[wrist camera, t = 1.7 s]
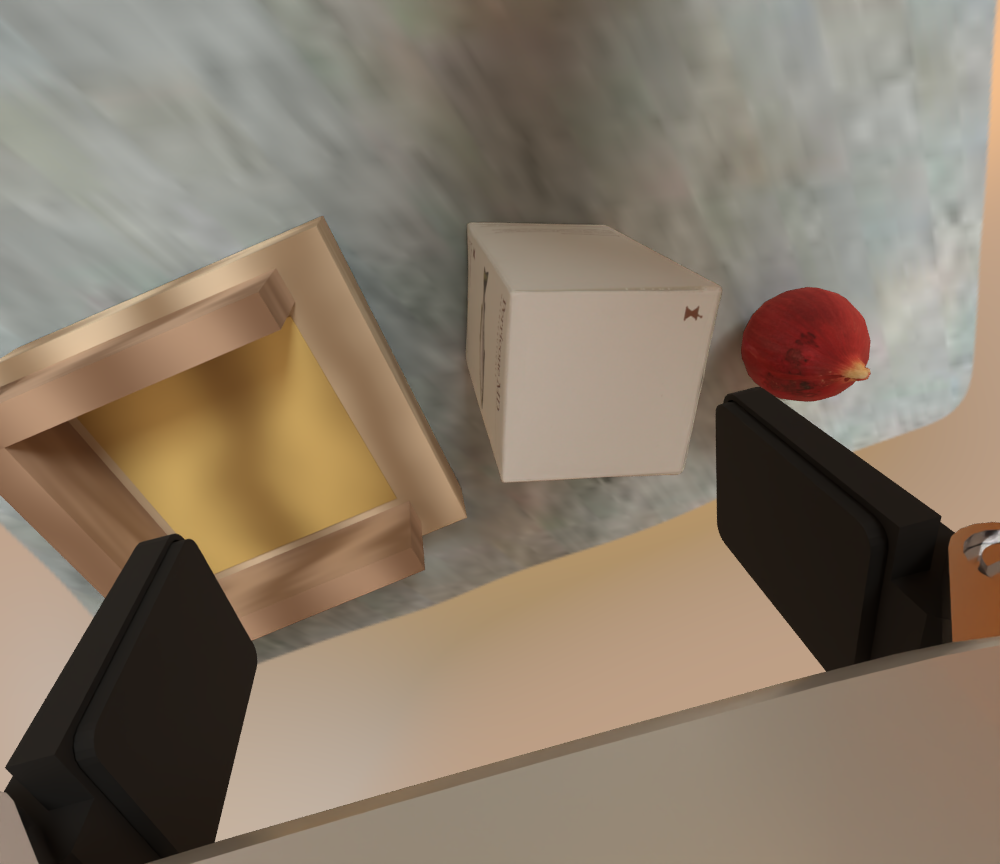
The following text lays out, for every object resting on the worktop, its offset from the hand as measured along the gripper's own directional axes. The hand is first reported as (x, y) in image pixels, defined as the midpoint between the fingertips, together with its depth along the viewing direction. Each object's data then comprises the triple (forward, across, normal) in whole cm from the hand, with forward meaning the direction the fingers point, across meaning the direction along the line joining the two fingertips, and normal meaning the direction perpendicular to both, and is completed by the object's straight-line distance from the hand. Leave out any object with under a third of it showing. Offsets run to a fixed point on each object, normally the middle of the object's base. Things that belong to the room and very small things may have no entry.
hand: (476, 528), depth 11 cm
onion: (+22, -18, +8) cm, 30 cm away
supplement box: (+22, -5, +3) cm, 23 cm away
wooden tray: (+22, +10, +6) cm, 25 cm away
